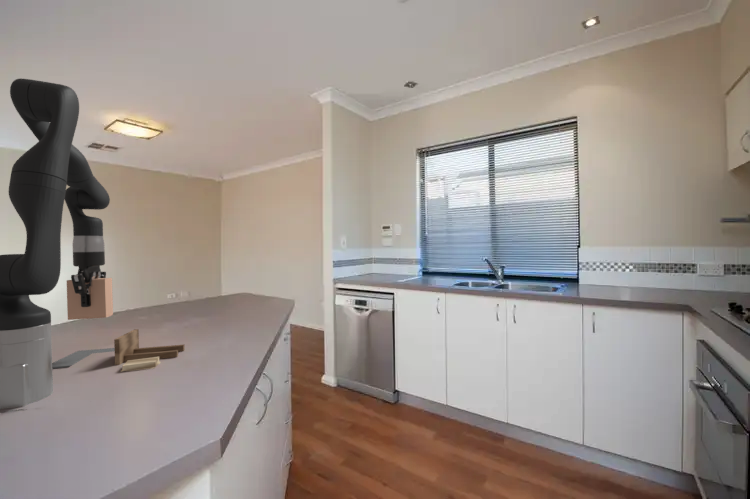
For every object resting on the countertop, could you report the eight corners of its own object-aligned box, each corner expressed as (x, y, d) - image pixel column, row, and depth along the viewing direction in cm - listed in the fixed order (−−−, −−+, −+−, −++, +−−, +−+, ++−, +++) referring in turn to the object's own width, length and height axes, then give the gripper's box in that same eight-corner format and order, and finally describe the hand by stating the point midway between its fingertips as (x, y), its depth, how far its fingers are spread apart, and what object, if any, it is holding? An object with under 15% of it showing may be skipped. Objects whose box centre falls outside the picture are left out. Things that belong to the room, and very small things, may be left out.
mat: (107, 363, 97) (107, 362, 97) (42, 369, 94) (41, 367, 94) (133, 347, 113) (133, 346, 113) (78, 352, 109) (78, 350, 109)
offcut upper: (155, 366, 92) (155, 361, 92) (122, 371, 89) (122, 365, 89) (159, 361, 96) (159, 356, 96) (127, 365, 93) (127, 360, 93)
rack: (174, 362, 98) (173, 335, 98) (115, 367, 94) (114, 339, 94) (187, 349, 110) (186, 325, 110) (134, 354, 106) (134, 329, 106)
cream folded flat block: (154, 373, 91) (153, 368, 91) (120, 376, 89) (120, 371, 89) (161, 367, 96) (160, 362, 96) (129, 370, 94) (129, 364, 94)
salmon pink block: (106, 317, 102) (104, 279, 102) (67, 319, 100) (66, 280, 100) (112, 314, 106) (111, 277, 106) (76, 317, 104) (75, 279, 104)
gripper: (89, 250, 97) (90, 308, 97) (115, 250, 111) (116, 301, 111) (58, 251, 95) (60, 310, 95) (88, 250, 109) (90, 302, 109)
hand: (90, 305), depth 103 cm, fingers closed on salmon pink block, 4 cm apart
